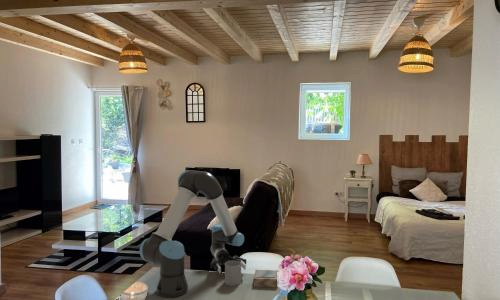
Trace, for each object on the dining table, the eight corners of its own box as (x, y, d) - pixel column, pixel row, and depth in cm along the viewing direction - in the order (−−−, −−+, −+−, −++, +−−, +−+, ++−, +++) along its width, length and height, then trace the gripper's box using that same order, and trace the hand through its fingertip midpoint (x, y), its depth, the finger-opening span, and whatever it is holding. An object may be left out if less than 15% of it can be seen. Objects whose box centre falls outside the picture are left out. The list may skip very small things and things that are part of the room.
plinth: (253, 286, 186) (253, 277, 186) (255, 277, 198) (255, 269, 198) (277, 287, 185) (277, 278, 184) (278, 277, 197) (278, 269, 196)
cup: (242, 279, 195) (242, 260, 194) (240, 285, 186) (240, 266, 186) (226, 278, 195) (226, 260, 195) (223, 285, 187) (223, 265, 187)
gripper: (242, 259, 218) (255, 272, 198) (201, 264, 210) (209, 278, 190) (242, 247, 218) (255, 259, 198) (200, 251, 210) (209, 264, 190)
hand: (232, 268), depth 194 cm, fingers open, 13 cm apart
